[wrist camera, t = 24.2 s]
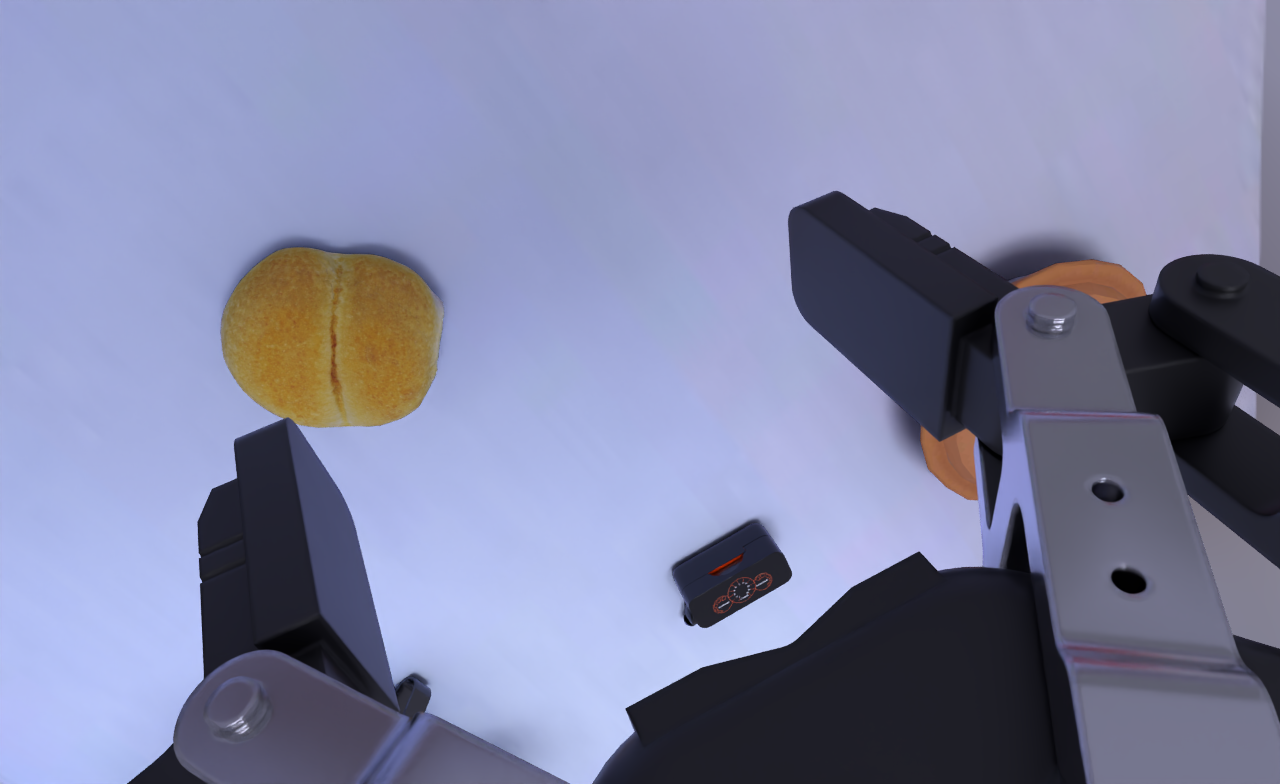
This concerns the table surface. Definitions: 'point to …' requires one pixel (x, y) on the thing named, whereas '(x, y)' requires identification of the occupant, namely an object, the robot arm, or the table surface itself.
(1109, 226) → the table surface
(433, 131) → the table surface
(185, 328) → the table surface
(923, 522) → the table surface
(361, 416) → the bread roll
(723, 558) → the dark boxy piece
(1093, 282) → the pie
